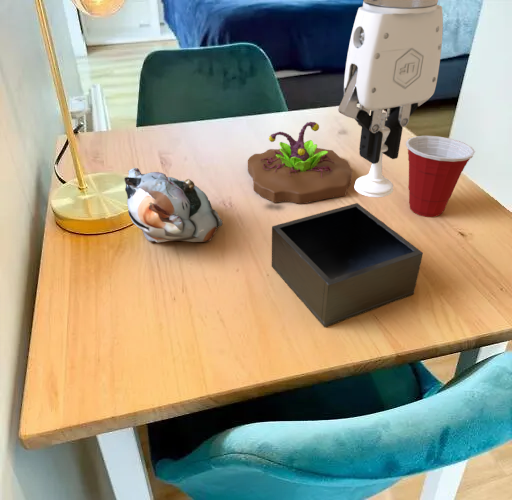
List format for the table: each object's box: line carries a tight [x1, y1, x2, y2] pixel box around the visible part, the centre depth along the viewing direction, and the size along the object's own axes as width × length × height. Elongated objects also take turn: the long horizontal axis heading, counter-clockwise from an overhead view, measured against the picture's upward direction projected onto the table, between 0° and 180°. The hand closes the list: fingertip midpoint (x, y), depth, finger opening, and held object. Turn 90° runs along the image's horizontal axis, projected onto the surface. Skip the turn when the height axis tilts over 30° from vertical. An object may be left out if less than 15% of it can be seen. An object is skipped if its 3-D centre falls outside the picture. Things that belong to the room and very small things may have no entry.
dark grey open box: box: [271, 202, 424, 328], centre depth 71 cm, size 15×15×7 cm
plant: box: [247, 121, 353, 205], centre depth 95 cm, size 20×20×11 cm
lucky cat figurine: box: [123, 167, 223, 244], centre depth 79 cm, size 15×12×14 cm
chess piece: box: [353, 111, 394, 198], centre depth 62 cm, size 5×5×10 cm
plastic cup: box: [405, 135, 476, 218], centre depth 86 cm, size 11×11×12 cm
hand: (378, 155), depth 63 cm, fingers closed on chess piece
